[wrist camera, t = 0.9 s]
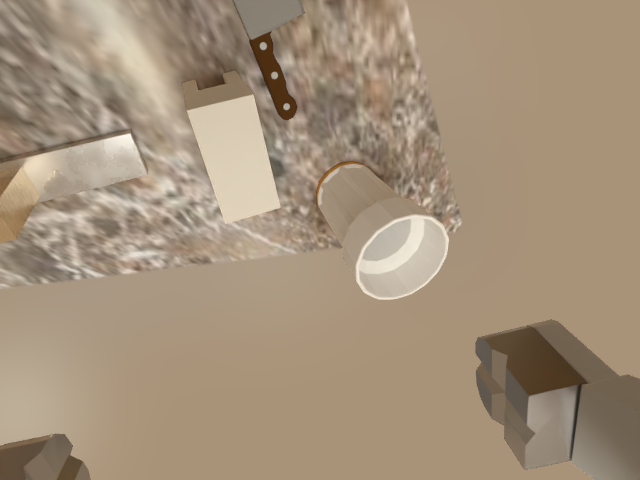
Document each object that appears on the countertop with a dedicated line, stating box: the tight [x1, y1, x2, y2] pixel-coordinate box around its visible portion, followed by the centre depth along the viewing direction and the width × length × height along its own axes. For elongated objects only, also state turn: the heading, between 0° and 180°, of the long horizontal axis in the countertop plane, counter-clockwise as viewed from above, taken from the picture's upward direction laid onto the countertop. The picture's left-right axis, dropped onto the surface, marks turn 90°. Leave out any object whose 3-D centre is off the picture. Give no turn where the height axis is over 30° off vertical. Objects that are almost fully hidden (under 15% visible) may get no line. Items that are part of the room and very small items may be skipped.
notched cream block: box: [182, 70, 280, 224], centre depth 44 cm, size 13×6×11 cm, turn 9°
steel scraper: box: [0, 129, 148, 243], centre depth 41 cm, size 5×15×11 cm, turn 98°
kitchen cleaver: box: [233, 0, 305, 120], centre depth 43 cm, size 24×1×10 cm
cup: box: [316, 162, 449, 300], centre depth 51 cm, size 11×11×17 cm
